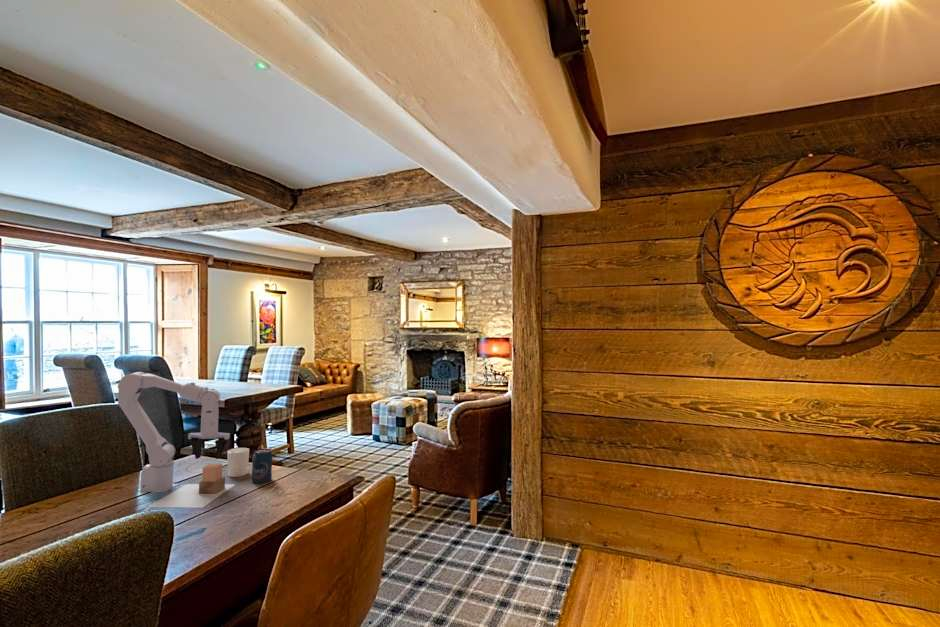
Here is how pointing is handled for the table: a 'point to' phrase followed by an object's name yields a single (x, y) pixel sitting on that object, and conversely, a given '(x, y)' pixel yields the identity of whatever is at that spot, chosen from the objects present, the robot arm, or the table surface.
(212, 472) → the top block
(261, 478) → the soda can
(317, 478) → the table surface
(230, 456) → the white cup
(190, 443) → the robot arm
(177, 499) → the white flat board
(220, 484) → the base block
